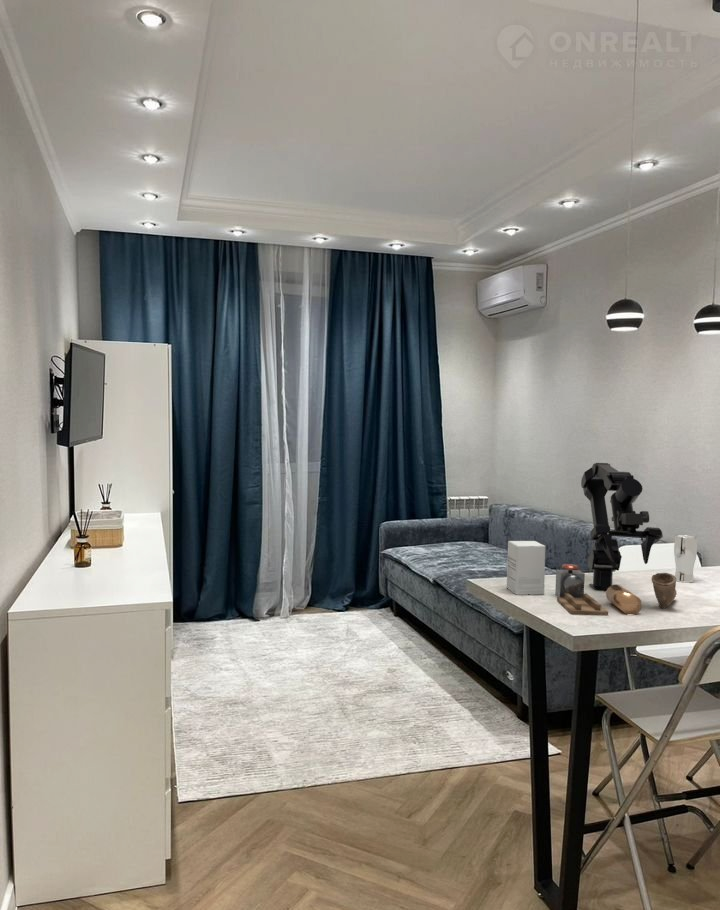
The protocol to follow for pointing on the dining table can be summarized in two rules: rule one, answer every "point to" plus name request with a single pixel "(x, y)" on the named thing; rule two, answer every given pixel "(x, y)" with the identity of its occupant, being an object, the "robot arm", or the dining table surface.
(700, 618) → the dining table surface
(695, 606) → the dining table surface
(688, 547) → the beer glass
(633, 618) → the dining table surface
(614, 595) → the tan rounded oblong piece
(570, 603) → the pipe cradle
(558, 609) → the dining table surface
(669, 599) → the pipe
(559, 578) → the valve block
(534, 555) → the supplement box
